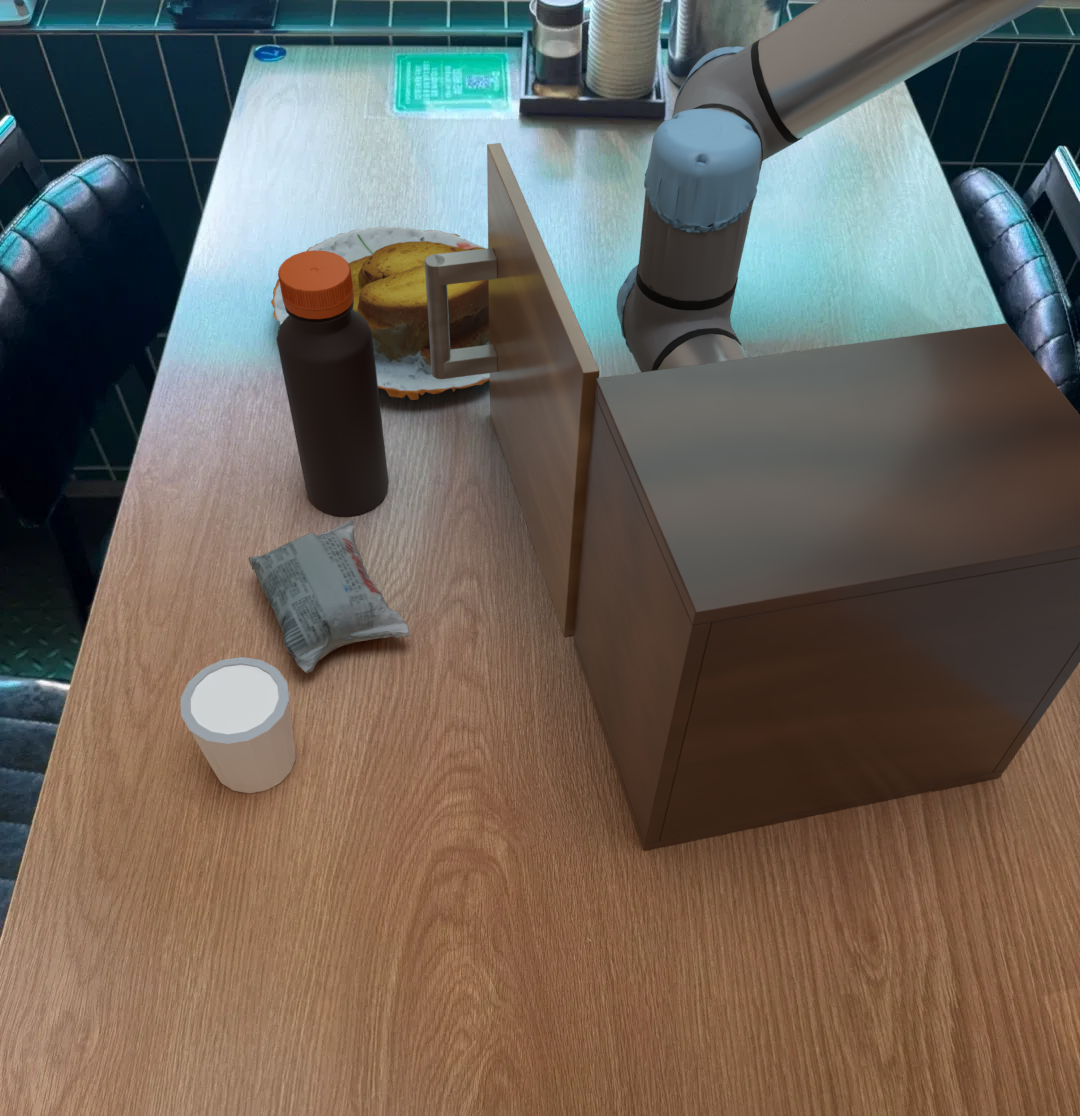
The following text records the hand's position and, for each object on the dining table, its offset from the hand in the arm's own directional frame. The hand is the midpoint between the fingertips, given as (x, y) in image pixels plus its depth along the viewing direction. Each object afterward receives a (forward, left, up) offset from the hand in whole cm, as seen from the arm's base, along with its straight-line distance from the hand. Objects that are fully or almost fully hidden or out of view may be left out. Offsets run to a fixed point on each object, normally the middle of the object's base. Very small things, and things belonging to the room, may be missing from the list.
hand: (838, 651), depth 68 cm
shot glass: (+37, -8, -12) cm, 39 cm away
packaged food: (+30, -20, -12) cm, 38 cm away
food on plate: (+18, -54, -12) cm, 58 cm away
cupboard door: (+16, -27, -11) cm, 33 cm away
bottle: (+27, -33, -12) cm, 44 cm away
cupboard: (0, -4, -11) cm, 12 cm away
